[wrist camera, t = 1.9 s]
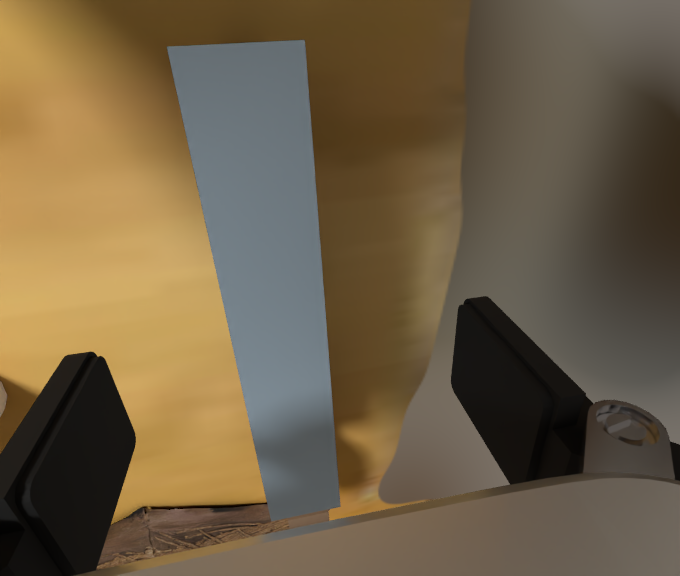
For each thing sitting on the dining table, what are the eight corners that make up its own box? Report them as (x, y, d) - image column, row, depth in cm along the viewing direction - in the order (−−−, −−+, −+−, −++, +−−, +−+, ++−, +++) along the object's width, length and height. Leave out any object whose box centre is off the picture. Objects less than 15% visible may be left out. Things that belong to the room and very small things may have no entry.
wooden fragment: (50, 599, 37) (45, 612, 36) (-1, 526, 31) (-8, 540, 30) (335, 540, 41) (338, 551, 40) (334, 467, 36) (336, 477, 35)
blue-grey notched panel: (217, 51, 19) (166, 46, 7) (269, 48, 19) (304, 39, 7) (260, 307, 26) (271, 521, 14) (298, 301, 26) (340, 506, 14)
